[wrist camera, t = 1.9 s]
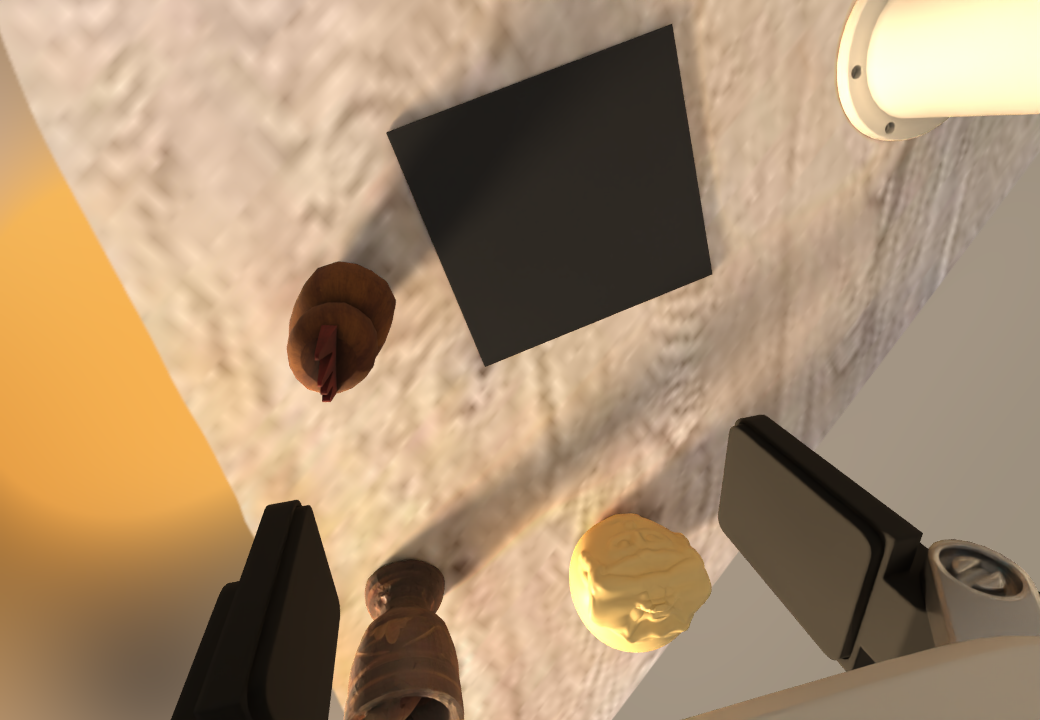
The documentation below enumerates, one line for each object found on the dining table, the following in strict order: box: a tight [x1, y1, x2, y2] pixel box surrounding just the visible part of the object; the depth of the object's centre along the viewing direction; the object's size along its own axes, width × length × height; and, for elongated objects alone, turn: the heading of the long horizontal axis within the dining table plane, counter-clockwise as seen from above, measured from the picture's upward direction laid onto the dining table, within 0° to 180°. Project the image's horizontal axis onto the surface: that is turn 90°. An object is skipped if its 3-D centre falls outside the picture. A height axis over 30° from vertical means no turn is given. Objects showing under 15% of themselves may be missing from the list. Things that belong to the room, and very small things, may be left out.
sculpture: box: [569, 514, 711, 652], centre depth 46 cm, size 12×12×11 cm
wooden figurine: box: [287, 262, 396, 402], centre depth 29 cm, size 7×6×15 cm
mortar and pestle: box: [344, 560, 464, 720], centre depth 38 cm, size 12×9×20 cm
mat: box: [387, 24, 712, 367], centre depth 37 cm, size 20×18×1 cm
